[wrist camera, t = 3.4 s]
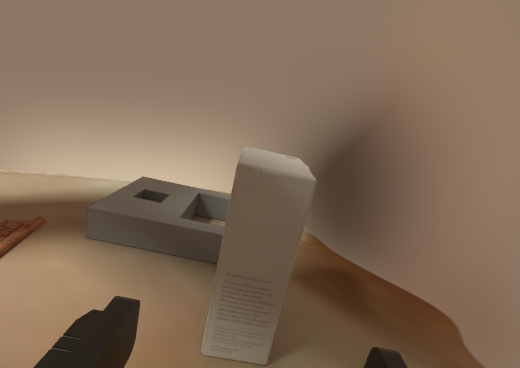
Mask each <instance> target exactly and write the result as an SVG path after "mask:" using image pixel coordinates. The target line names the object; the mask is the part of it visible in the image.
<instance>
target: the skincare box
mask: <svg viewBox="0 0 520 368" xmlns="http://www.w3.org/2000/svg"><path fill="white" fill-rule="evenodd" d="M315 185H316V179H315V177H314V176H313V175H312V174H311V172H310V168H309V167H308V166H306V165H305V164H304V163H303V162H302V161H301V159H298V158H295V157H291V156H286V155H282V154H277V153H273V152H269V151H264V150H259V149H255V148H250V147H244V148H243V150H242V152H241V155H240V159H239V162H238V164H237V168H236V174H235V178H234V183H233V188H232V193H231V198H230V203H229V208H228V213H227V218H226V223H225V228H224V233H223V238H222V243H221V248H220V254H219V259H218V264H217V269H216V274H215V279H214V285H213V290H212V295H211V300H210V305H209V310H208V316H207V321H206V326H205V331H204V336H203V342H202V347H201V353H202V354H203V355H206V356H213V357H219V358H225V359H231V360H237V361H243V362H248V363H254V364H260V365H266V364H267V362H268V359H269V355H270V351H271V348H272V344H273V340H274V337H275V333H276V329H277V325H278V321H279V318H280V314H281V311H282V307H283V303H284V299H285V296H286V292H287V289H288V285H289V281H290V278H291V274H292V271H293V267H294V263H295V259H296V256H297V252H298V249H299V245H300V241H301V238H302V234H303V230H304V226H305V223H306V219H307V215H308V211H309V207H310V204H311V200H312V196H313V193H314V189H315Z"/></svg>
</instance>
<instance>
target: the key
mask: <svg viewBox="0 0 520 368" xmlns="http://www.w3.org/2000/svg"><path fill="white" fill-rule="evenodd" d="M9 221H10V220H6V221H4V222H2V223H0V227H1V226H3V225H4V224H6V223H8V222H9ZM44 222H45V219H44V218H42V217H37V218H36V219H34V220H33V221H12V222H10V223H9V224H7V225H5V226H4V227H2V229H0V241H3V242H2V243H0V256H1V255H3V254H4V253H5V252H6V251H8V250H9V249H10V248H12V247H13V246H14V245H16V244H17V243H18V242H19V241H21V240H22V239H23V238H25V237H26V236H27V235H28V234H30V233H31V232H32V231H34V230H35V229H36V228H37V227H39V226H40V225H41V224H43V223H44ZM21 225H23V226H21ZM20 226H21V227H20ZM19 227H20V228H19ZM18 228H19V229H18ZM16 229H17V230H16ZM11 232H12V233H11ZM10 233H11V234H10ZM9 234H10V235H9ZM6 236H7V237H6Z"/></svg>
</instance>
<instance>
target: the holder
mask: <svg viewBox="0 0 520 368" xmlns="http://www.w3.org/2000/svg"><path fill="white" fill-rule="evenodd" d="M230 198H231V195H228V194H223V193H218V192H214V191H209V190H204V189H199V188H195V187H190V186H185V185H180V184H175V183H171V182H166V181H161V180H156V179H152V178H147V177H142V178H140V179H138V180H136V181H134V182H132V183H131V184H129V185H127V186H125V187H123V188H121V189H120V190H118V191H116V192H114V193H112V194H111V195H109V196H107V197H105V198H103V199H102V200H100V201H98V202H96V203H94V204H93V205H91V206H89V207H88V209H87V224H86V238H91V239H96V240H101V241H106V242H111V243H116V244H121V245H126V246H131V247H136V248H141V249H146V250H151V251H156V252H161V253H166V254H171V255H176V256H181V257H186V258H191V259H196V260H201V261H206V262H211V263H216V264H218V259H219V254H220V248H221V243H222V238H223V233H224V228H225V227H222V226H217V225H212V224H207V223H202V222H197V221H192V219H193V217H194V216H195V215H199V216H203V217H208V218H213V219H218V220H223V221H226V218H227V213H228V208H229V203H230Z"/></svg>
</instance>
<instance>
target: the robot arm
mask: <svg viewBox="0 0 520 368" xmlns="http://www.w3.org/2000/svg"><path fill="white" fill-rule="evenodd" d="M139 309H140V301H139V300H136V299H130V298H125V297H120V296H116V297H114V298H113V299H112V301H111V302H110V303H109V304H108V306H107V307H106V308H105V309H104V311H99V310H94V309H93V310H92V311H90V312H88V313H87V314H85V315H83V316H82V317H80V318H79V319H77V320H76V321H75V322H74V323H73V324H72V325H71V326H70V327H69V329H68V330H67V331H66V332H65V333H64V335H63V337H61V338H60V339H59V340H58V341H57V342H56V343H55V344H54V345H53V347H52V349H51V350H49V351H48V352H47V353H46V354H45V355H44V357H43V358H42V359H41V360H40V361H39V362H38V363H37V364H36V366H35V367H34V368H124V366H125V364H126V362H127V361H128V359H129V357H130V354H131V352H132V349H133V346H134V343H135V339H136V332H137V324H138V316H139ZM364 368H407V366H406V364H405V362H404V361H403V359H402V357H401V355H400V354H399V353H398V352H397V351H393V350H388V349H383V348H377V347H373V348H372V349H371V351H370V353H369V356H368V358H367V361H366V363H365V366H364Z"/></svg>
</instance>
